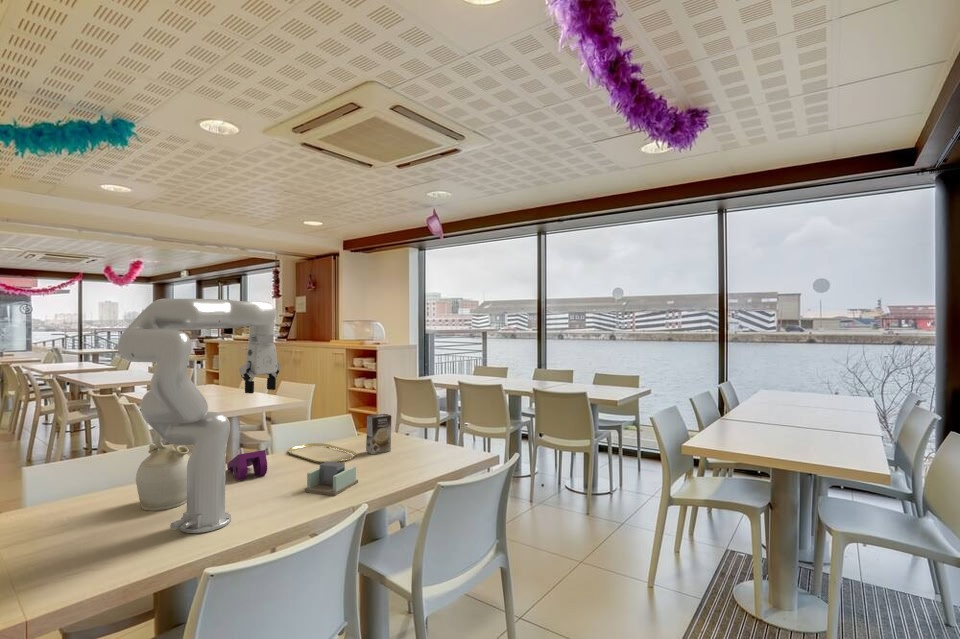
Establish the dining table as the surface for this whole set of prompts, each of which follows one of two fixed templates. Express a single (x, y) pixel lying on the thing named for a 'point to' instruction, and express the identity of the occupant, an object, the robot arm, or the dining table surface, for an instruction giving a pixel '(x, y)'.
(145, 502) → the jug
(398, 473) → the dining table surface
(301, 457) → the gold oval ring
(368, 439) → the coffee box
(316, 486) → the post slot
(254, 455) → the mounting bracket
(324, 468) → the tall grey upright block
